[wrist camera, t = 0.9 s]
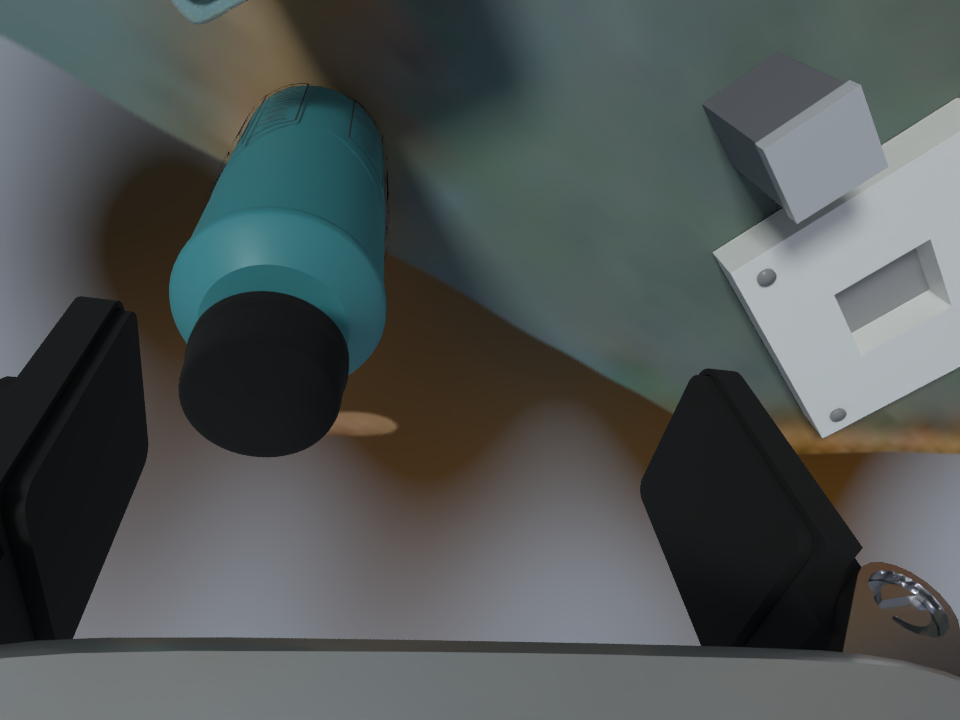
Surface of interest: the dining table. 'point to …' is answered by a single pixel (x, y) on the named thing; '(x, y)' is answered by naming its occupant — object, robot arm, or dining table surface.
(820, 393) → the socket plate
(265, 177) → the beverage bottle
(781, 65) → the plug
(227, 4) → the flower pot
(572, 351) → the dining table surface
